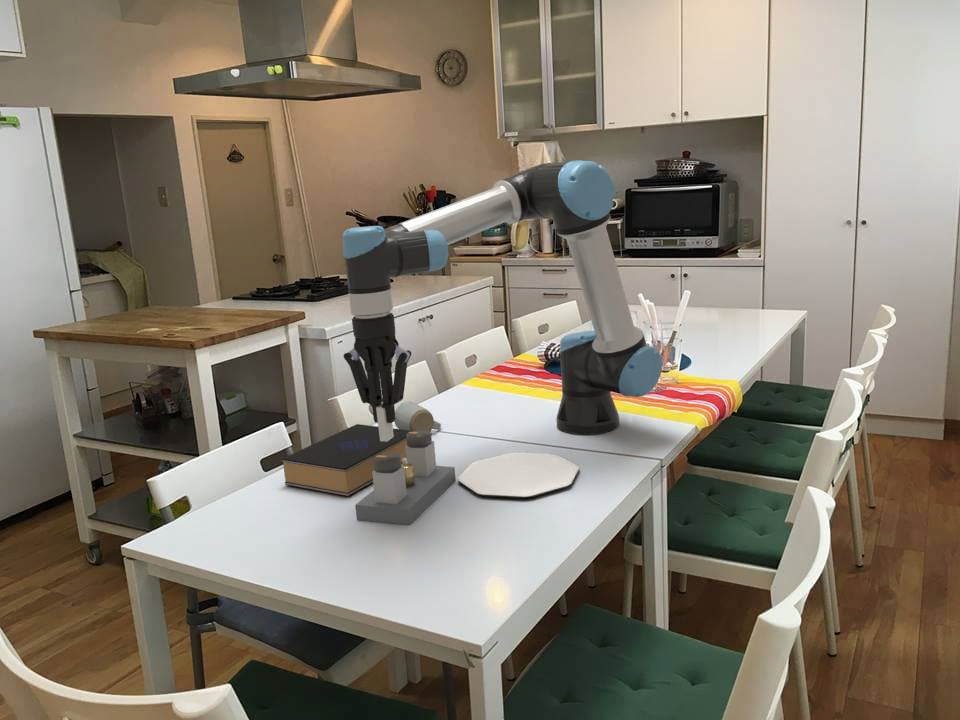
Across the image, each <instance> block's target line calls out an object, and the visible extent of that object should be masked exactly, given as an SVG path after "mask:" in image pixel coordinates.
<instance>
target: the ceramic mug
mask: <svg viewBox="0 0 960 720" xmlns="http://www.w3.org/2000/svg"><path fill="white" fill-rule="evenodd" d="M395 417H396V419H395V421H394V422H393V423H394V425H395V426H396V429H402V430H410V431H417V430H427V431H430V432H432V430H436V431H439V430H440V429H441V426H442V423H441V422H438V421H436V420H435V419H434V416H433V413H431V412H430V411H429V410H428V409H427V408H425V407H423V406H421V405H419V404H418V403H416V402H413V401H404V402H402V403H400V404H399V405H398V406H397V408H396V409H395Z"/></svg>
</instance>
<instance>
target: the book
mask: <svg viewBox="0 0 960 720" xmlns="http://www.w3.org/2000/svg"><path fill="white" fill-rule="evenodd" d="M409 432H412V431H410V430H402V429H398V428H394V427H393V434H394V437H393V438H391V439H390V440H389V441H387V442H386V441H380V436H379V428H378V425H377V426H375V425H367V424H359V423H356V424H354V425H352V426H350V427H348V428H345V429H344V430H341V431H339V432H337V433H334V434H332V435H330V436H328V437H326V438H324V439H322V440H319V441H316V442H315V443H313V444H310V445H309V446H306V447H305V448H302V449H300V450H297V451H296V452H294V453H292V454H289V455H287V456H285V457H282V458H281V462H282V464H283V472H284V473H283V474H284V479H285V481H284V485H286V486H290V487H296V488H301V489H307V490H313V491H318V492H324V493H329V494H335V495H339V496H346V497H349V496H351V495H353V494H355V493H357V492H358V491H360V490H362V489H364V488H365V487H367V486H369V485H370V484H372V483H373V475H372V472H373V471H375V468H374V457H376V456H377V455H381V454H385V453H396V454H399V455H400V457H401V464H403V462H402V458H406V451H405V447H406V446H408V445H407V437H406V435H407V433H409Z"/></svg>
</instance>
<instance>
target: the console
mask: <svg viewBox="0 0 960 720" xmlns="http://www.w3.org/2000/svg"><path fill="white" fill-rule="evenodd" d="M435 448H436V447H435V441H432V443H431V444H430V445H428V446H425V447H409V446H406V447H405V451H406V458H407V460H408V463H411V464H413V469H414V479H415V485H414V486H413V487H409V488H406V482H405V471H404V465H401V468H400V469H399V470H396V471H393V472H387V473H381V472H377V471H373V472H372V475H373V482H372V483H373V490H372V491H371V492H369V493H368V494H367V495H366V496H364V497H363V498H362V499H361V500H359V501H358V502H356V503H355V506H354V507H355V516H356V520H357V521H367V522H368V521H369V522H376V523H387V524H395V525H396V524H398V525H406V526H411V524H412V523H414V522H415V521H416V519H418V518H419V517H420V516H421V515H422V514H423V513H424V512H425V511H426V510H427V509H428V508H429V507H430V506H431V505H432V504H433V503H434V502H435V501H436V500H437V499H438V498H439V497H440V496H441V495H442V494H443V493H444V492H445V491H446V490H448V488H449V487H451V486H452V485H453V484H454V483H455V482H456V471H455V468H456V467H455V466H448V465H447V466H444V465H437V462H436V461H437V460H436V450H435Z"/></svg>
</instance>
